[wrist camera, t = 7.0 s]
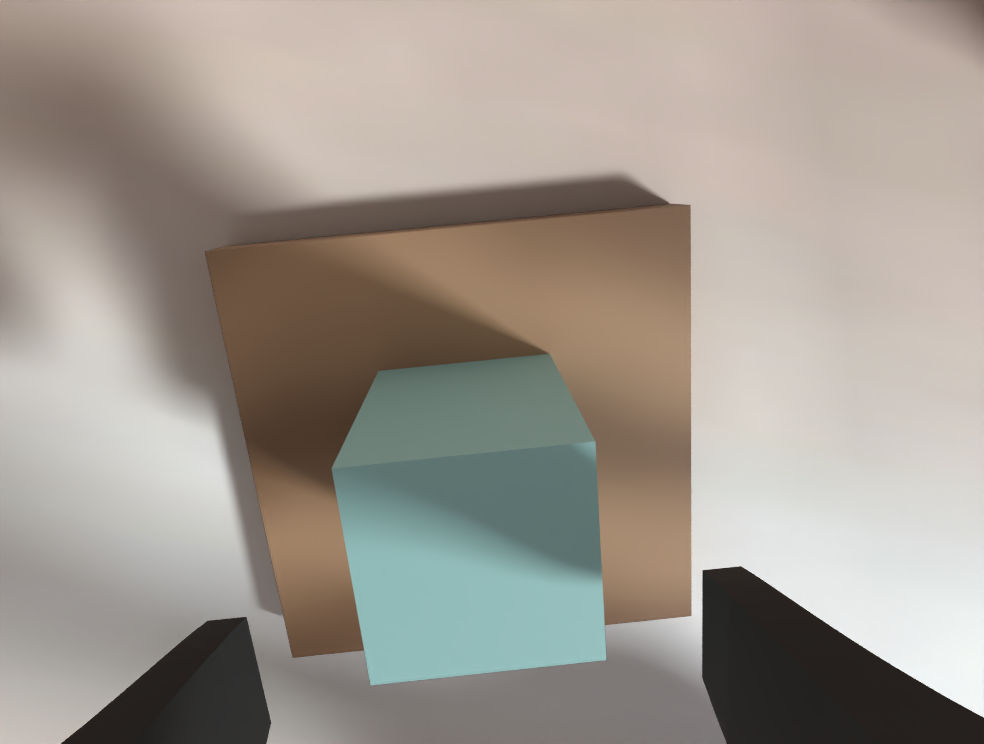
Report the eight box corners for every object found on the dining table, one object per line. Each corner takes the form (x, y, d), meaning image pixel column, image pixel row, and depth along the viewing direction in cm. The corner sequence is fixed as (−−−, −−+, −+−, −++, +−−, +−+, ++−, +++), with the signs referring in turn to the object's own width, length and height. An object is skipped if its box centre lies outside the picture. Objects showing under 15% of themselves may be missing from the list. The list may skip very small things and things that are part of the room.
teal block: (560, 507, 18) (606, 660, 12) (401, 524, 18) (370, 685, 12) (550, 353, 16) (595, 441, 11) (378, 370, 16) (331, 468, 11)
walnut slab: (675, 585, 20) (691, 615, 19) (304, 624, 20) (292, 657, 19) (671, 203, 17) (690, 204, 16) (227, 246, 17) (205, 251, 15)
